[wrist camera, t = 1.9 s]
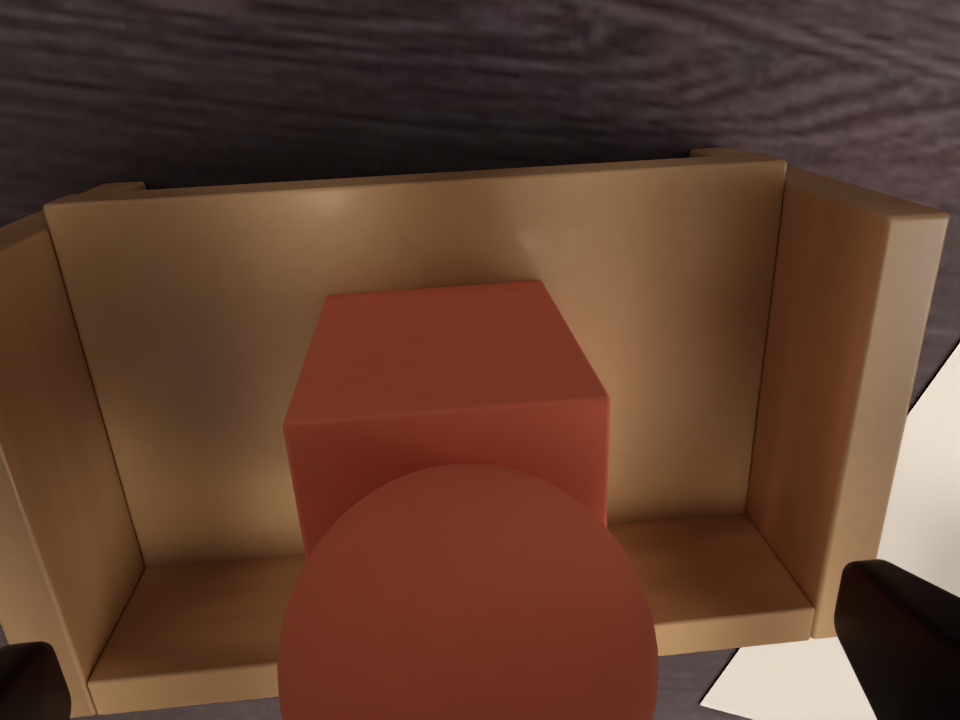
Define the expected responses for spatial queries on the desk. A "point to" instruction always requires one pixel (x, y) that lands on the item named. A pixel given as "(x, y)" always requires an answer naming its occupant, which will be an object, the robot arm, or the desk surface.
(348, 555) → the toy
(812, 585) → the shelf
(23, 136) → the desk surface
